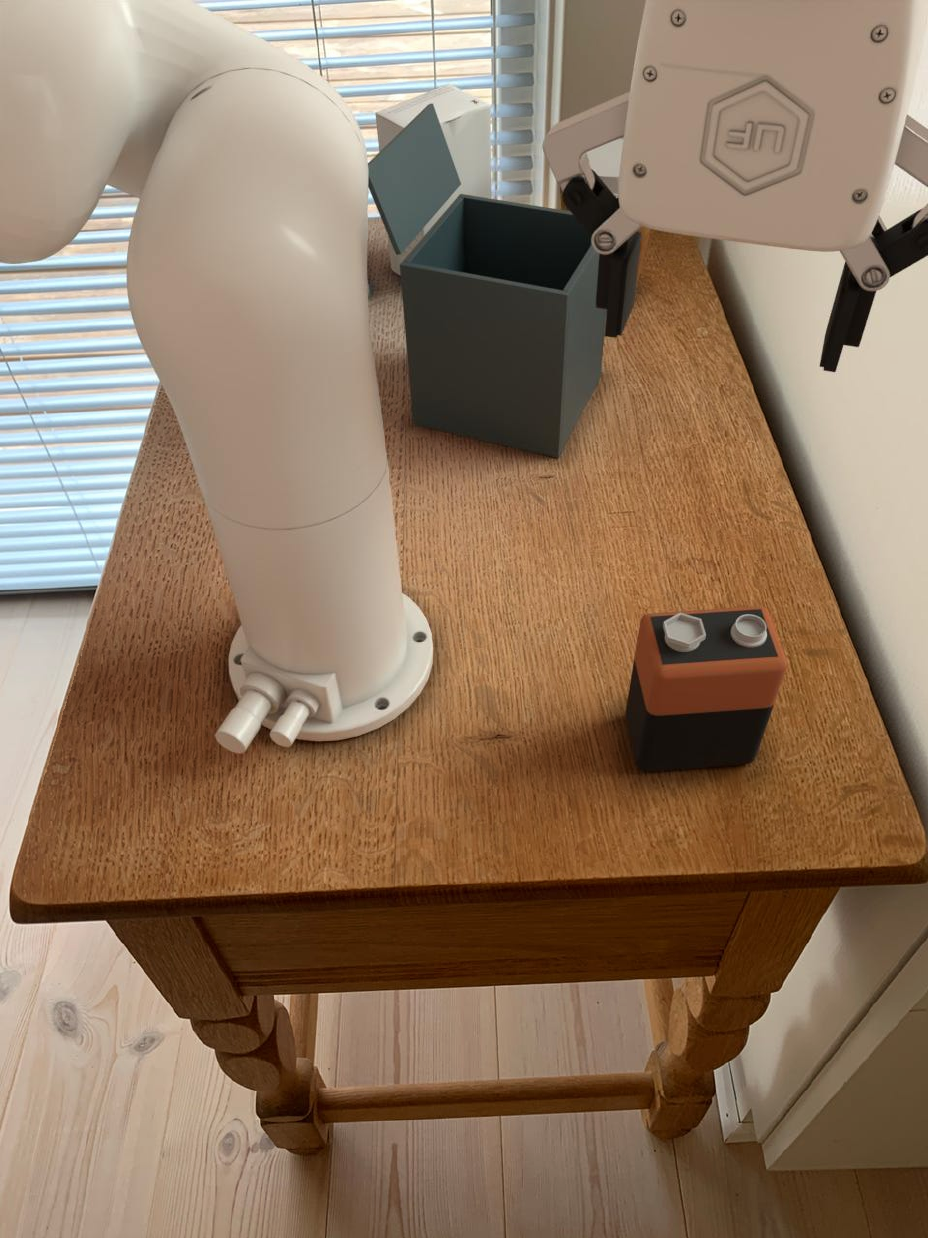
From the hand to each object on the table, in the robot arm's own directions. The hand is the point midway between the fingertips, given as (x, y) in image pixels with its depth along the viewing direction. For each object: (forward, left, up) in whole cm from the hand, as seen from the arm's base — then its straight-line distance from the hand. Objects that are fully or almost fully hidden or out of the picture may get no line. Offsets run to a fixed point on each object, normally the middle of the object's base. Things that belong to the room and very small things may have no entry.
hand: (722, 337), depth 45 cm
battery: (-7, -3, -22) cm, 23 cm away
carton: (+20, +18, -22) cm, 35 cm away
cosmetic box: (+37, +31, -22) cm, 53 cm away
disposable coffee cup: (+39, +16, -22) cm, 48 cm away
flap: (+20, +25, -5) cm, 32 cm away
